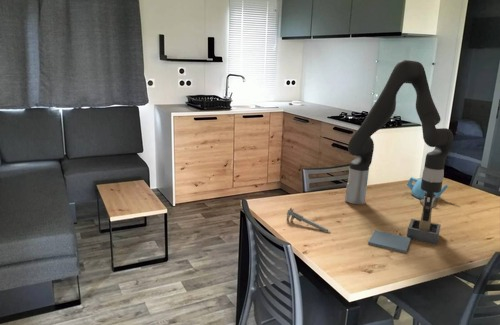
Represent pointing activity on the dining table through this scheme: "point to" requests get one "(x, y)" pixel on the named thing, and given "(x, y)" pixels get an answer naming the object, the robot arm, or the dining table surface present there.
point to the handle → (426, 224)
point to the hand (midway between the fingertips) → (426, 217)
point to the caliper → (304, 220)
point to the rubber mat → (389, 241)
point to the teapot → (418, 191)
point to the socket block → (423, 232)
